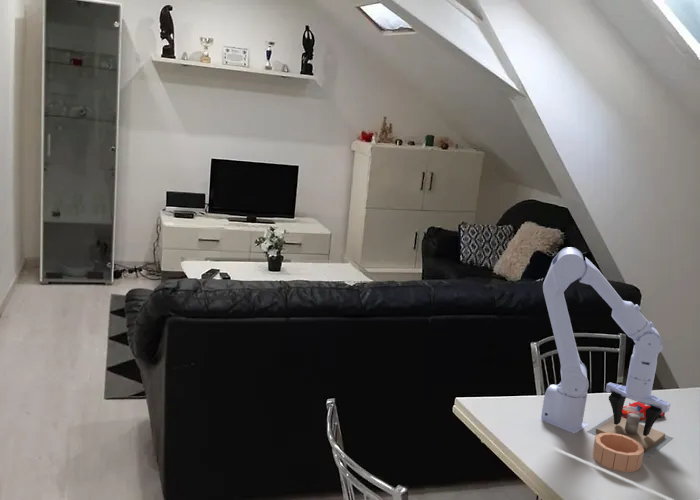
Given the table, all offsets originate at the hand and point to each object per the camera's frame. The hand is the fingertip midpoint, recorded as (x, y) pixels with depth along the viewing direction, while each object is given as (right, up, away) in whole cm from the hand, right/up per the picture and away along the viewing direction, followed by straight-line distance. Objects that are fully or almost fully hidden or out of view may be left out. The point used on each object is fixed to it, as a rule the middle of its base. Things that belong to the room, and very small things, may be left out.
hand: (631, 428), depth 162 cm
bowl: (-9, -4, -12) cm, 15 cm away
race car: (+7, -1, +13) cm, 15 cm away
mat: (0, -2, 0) cm, 2 cm away
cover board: (0, -2, 0) cm, 2 cm away
